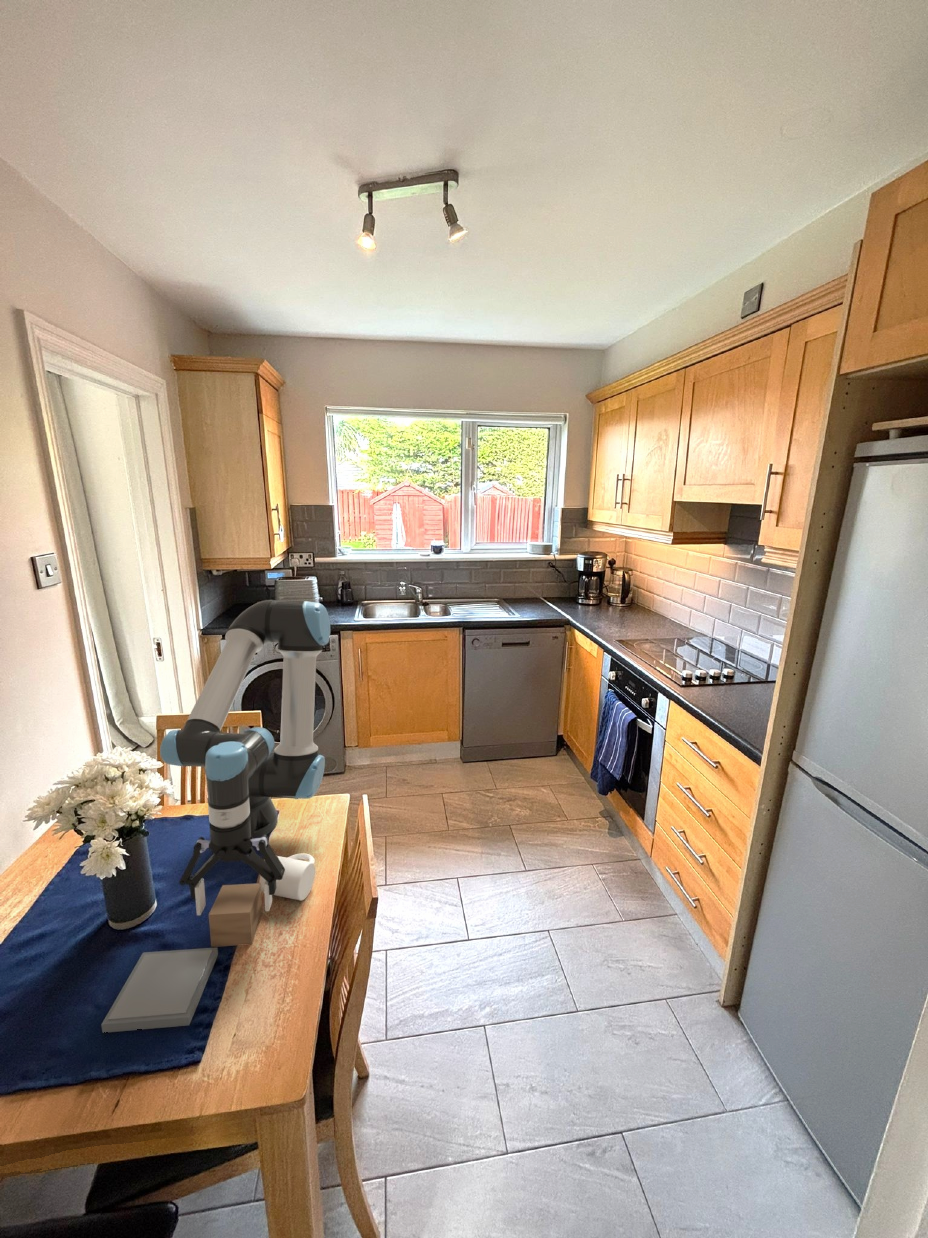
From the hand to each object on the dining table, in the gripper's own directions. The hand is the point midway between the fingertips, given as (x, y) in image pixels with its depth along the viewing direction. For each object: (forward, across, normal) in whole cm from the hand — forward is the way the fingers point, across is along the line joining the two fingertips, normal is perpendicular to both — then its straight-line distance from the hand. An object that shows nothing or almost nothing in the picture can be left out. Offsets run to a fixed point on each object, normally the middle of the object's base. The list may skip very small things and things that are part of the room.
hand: (235, 908), depth 104 cm
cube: (+6, 0, +1) cm, 6 cm away
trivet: (+6, -9, -12) cm, 16 cm away
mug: (+6, +9, +13) cm, 17 cm away
